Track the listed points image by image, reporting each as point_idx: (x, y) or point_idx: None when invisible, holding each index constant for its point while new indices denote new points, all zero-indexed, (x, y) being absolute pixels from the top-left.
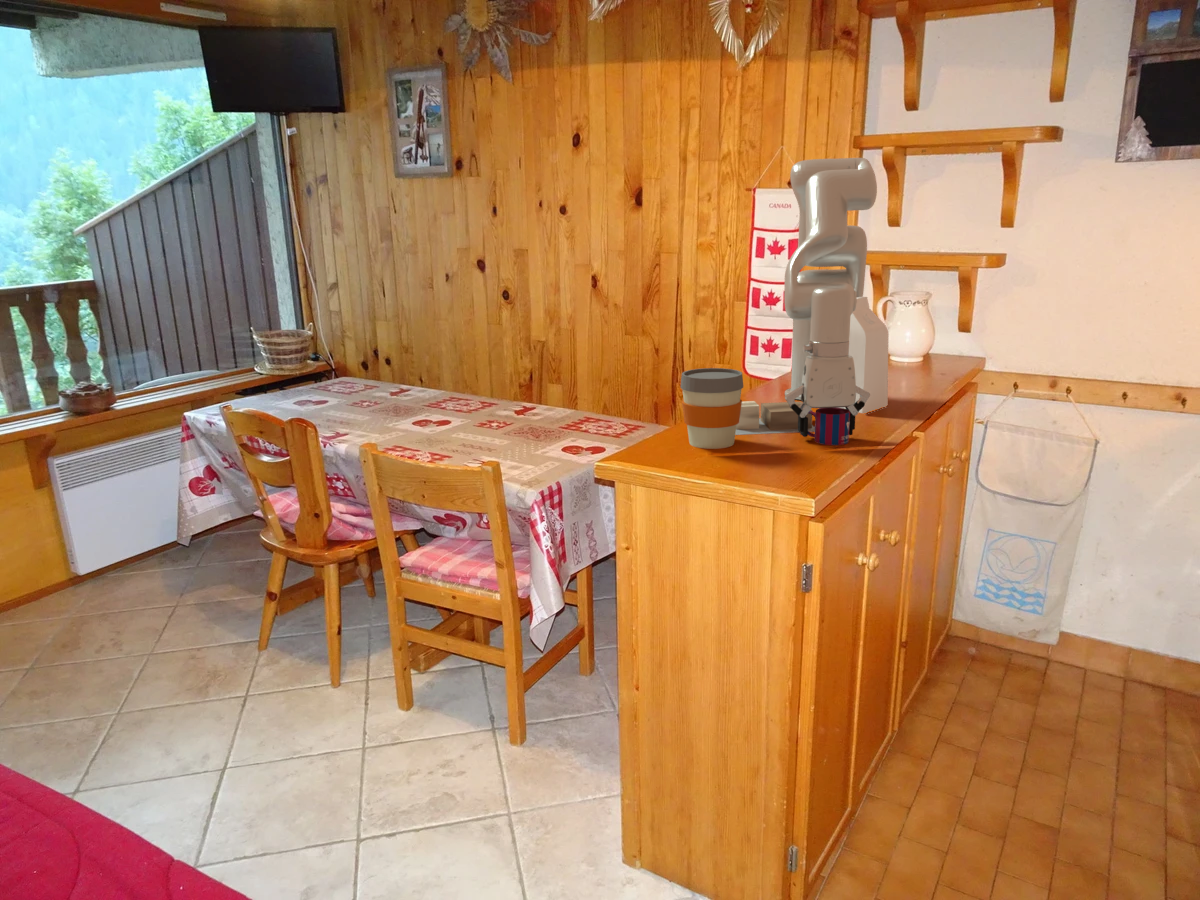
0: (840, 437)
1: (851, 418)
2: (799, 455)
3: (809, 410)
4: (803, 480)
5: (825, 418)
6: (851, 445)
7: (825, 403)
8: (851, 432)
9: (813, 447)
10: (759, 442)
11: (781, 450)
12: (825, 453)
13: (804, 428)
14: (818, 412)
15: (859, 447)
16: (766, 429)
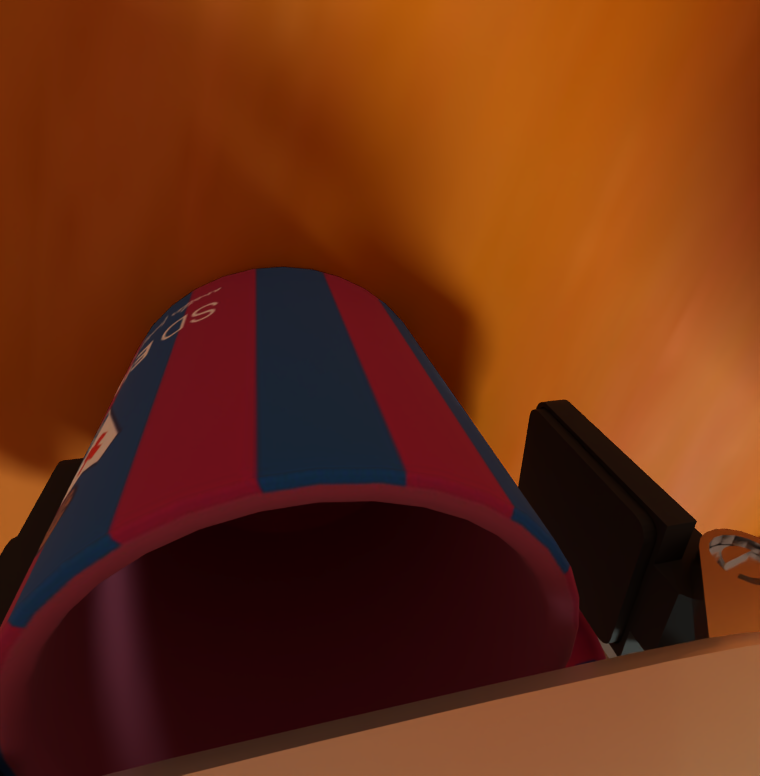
0: (231, 304)
1: (5, 612)
2: (704, 26)
3: (714, 628)
4: None
5: (486, 463)
6: (103, 343)
7: (627, 769)
8: (67, 468)
9: (471, 303)
10: (745, 450)
11: (741, 236)
12: (440, 58)
13: (608, 444)
14: (576, 606)
15: (16, 261)
16: (607, 650)
